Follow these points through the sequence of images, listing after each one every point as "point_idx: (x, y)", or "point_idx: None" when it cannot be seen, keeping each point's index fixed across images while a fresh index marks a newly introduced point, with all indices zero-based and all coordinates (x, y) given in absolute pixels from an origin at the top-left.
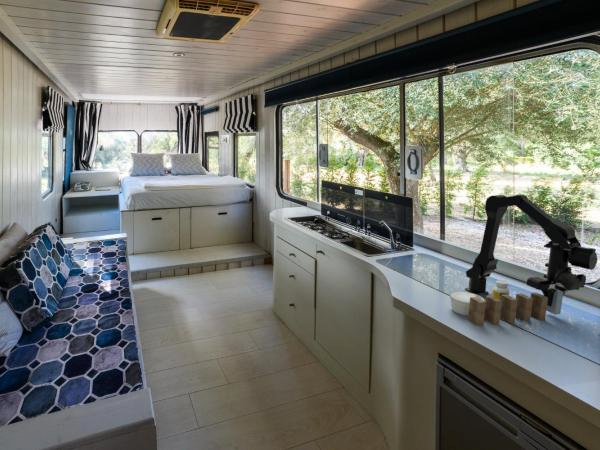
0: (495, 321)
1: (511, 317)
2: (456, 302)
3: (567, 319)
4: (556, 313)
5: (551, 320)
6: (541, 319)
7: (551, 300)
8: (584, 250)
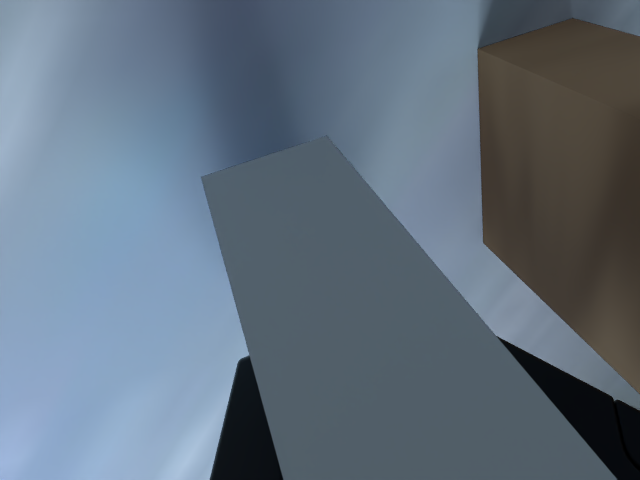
0: None
1: None
2: None
3: (50, 116)
4: (298, 156)
5: (389, 31)
6: (546, 32)
7: None
8: None
